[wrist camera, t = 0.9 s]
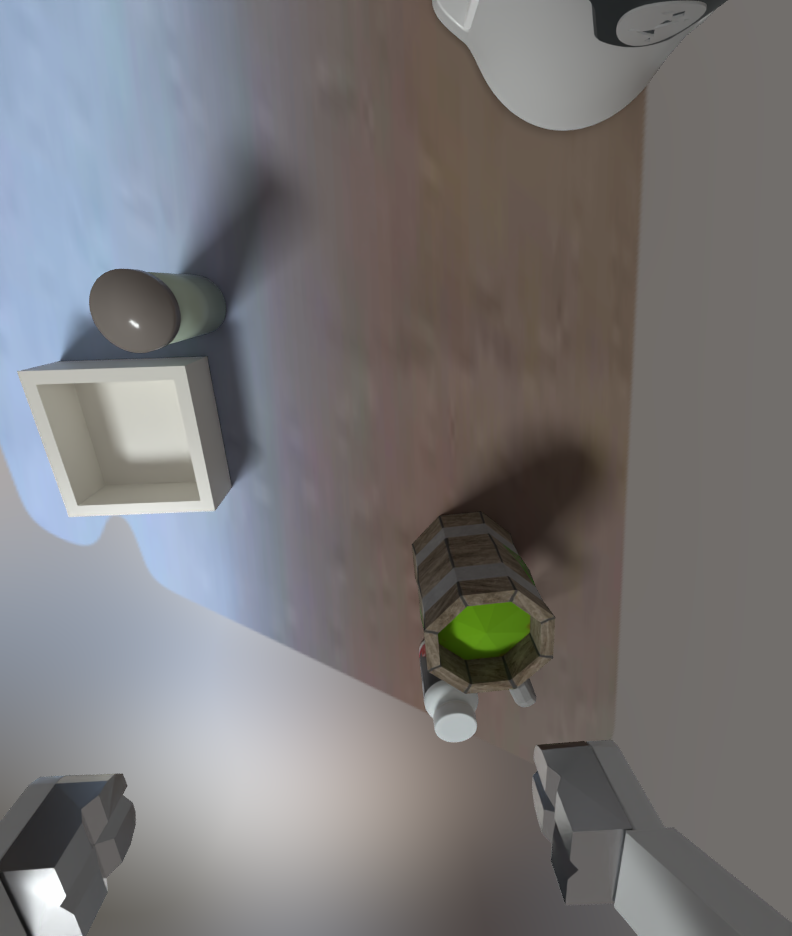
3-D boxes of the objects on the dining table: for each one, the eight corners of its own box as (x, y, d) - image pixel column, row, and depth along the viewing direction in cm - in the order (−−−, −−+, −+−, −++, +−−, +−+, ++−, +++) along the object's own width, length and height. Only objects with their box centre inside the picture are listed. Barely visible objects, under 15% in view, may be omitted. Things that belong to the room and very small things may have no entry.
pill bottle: (456, 623, 48) (474, 700, 39) (472, 656, 50) (493, 737, 41) (410, 639, 49) (418, 719, 40) (428, 671, 51) (439, 754, 42)
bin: (59, 361, 36) (17, 371, 32) (207, 356, 36) (184, 365, 32) (101, 492, 41) (69, 517, 36) (231, 487, 41) (215, 510, 37)
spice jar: (161, 274, 34) (78, 269, 25) (221, 272, 34) (162, 267, 25) (174, 335, 36) (102, 354, 26) (231, 334, 36) (180, 351, 26)
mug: (390, 539, 44) (395, 624, 33) (489, 491, 42) (529, 564, 31) (456, 643, 50) (479, 746, 38) (546, 605, 48) (596, 701, 37)
